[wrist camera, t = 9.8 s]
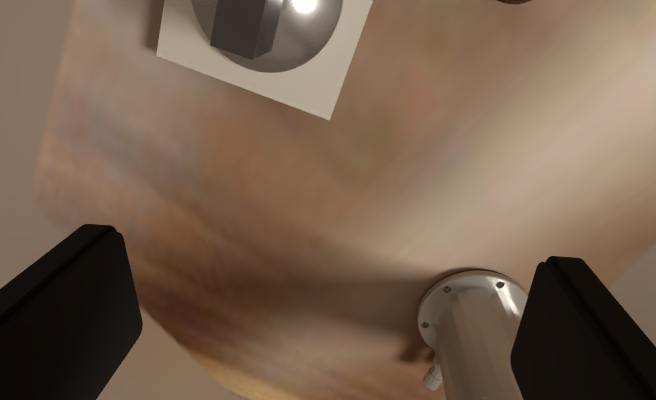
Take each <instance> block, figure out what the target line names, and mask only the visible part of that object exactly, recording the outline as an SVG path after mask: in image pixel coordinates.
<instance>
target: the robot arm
mask: <svg viewBox="0 0 656 400" xmlns="http://www.w3.org/2000/svg"><path fill="white" fill-rule="evenodd" d="M417 322H418V327H419V332H420V334H421V336H422V338H423V340H424V341H425V342H426V344H427V345H428V346H429V347H431V348H432V349H433V350H434V353H435V357H434V358H433V366H432V367H430V369H429V370H428V372H427V373H426V375H425V376H424V378H423V383H424V384H425V386H426V387H427V388H428V389H430V390H437V389H438V387H439V386H440V384H441V383H442V382H443V384H444V389H445V394H446V400H656V347H655V346H654V344H653V343H652V342H651V341H650V340H649V339H648V337H647V336H646V335H645V334H644V333H643V331H642V330H641V329H640V328H639V326H638V325H637V324H636V323H635V322H634V320H633V319H632V318H631V317H630V316H629V315H628V313H627V312H626V311H625V310H624V308H623V307H622V306H621V305H620V304H619V303H618V301H617V300H616V299H615V298H614V297H613V295H612V294H611V293H610V292H609V291H608V289H607V288H606V287H605V286H604V285H603V283H602V282H601V281H600V280H599V279H598V277H597V276H596V275H595V274H594V273H593V271H592V270H591V269H590V268H589V267H588V265H587V264H586V263H585V262H584V261H583V260H582V259H580V258H572V257H558V256H551V257H549V258H548V259H547V260H546V262H541V263H539V264H538V266H537V268H536V272H535V275H534V278H533V282H532V285H531V288H530V292H529V295H527V294H526V292H525V290H524V289H523V288H522V287H521V286H520V285H519V284H518V283H517V282H515V281H514V280H512V279H511V278H509V277H507V276H504V275H502V274H499V273H495V272H490V271H479V270H475V271H465V272H461V273H457V274H454V275H451V276H449V277H446V278H444V279H442V280H441V281H439V282H438V283H436V284H435V285H434V286H432V287H431V288H430V289H429V290H428V291H427V292H426V294H425V295H424V296H423V298H422V300H421V302H420V304H419V307H418V312H417ZM141 331H142V317H141V313H140V309H139V304H138V300H137V295H136V291H135V287H134V282H133V278H132V273H131V269H130V265H129V260H128V256H127V251H126V247H125V242H124V238H123V236H122V234H121V233H119V232H117V231H116V229H115V228H114V227H113V226H110V225H96V224H85V225H83V226H81V227H80V228H78V229H77V230H76V231H75V232H73V233H72V234H71V235H69V236H68V237H67V238H66V239H64V240H63V241H62V242H60V243H59V244H58V245H56V246H55V247H54V248H53V249H51V250H50V251H49V252H48V253H46V254H45V255H44V256H42V257H41V258H40V259H38V260H37V261H36V262H35V263H33V264H32V265H31V266H29V267H28V268H27V269H26V270H24V271H23V272H22V273H20V274H19V275H18V276H17V277H15V278H14V279H13V280H11V281H10V282H9V283H7V284H6V285H5V286H4V287H2V288H1V289H0V400H96V399H97V398H98V396H99V395H100V393H101V392H102V390H103V389H104V387H105V386H106V384H107V383H108V381H109V380H110V379H111V377H112V376H113V374H114V373H115V371H116V370H117V368H118V367H119V365H120V364H121V362H122V361H123V360H124V358H125V357H126V355H127V354H128V352H129V351H130V349H131V348H132V347H133V345H134V344H135V342H136V341H137V339H138V338H139V336H140V334H141Z"/></svg>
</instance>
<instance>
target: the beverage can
mask: <svg viewBox="0 0 656 400" xmlns="http://www.w3.org/2000/svg"><path fill="white" fill-rule="evenodd" d="M498 1H501V2H503V3H508V4H521V3H525V2H528V1H531V0H498Z"/></svg>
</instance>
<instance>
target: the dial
mask: <svg viewBox="0 0 656 400" xmlns="http://www.w3.org/2000/svg"><path fill="white" fill-rule="evenodd" d="M191 2H192V6H193V10H194V13H195V15H196V18H197V20H198V22H199V24H200V26H201V28H202V30H203V32H204V33H205V35H206V36H207V38H208V39H209V40H210V46H213V47H215V48H216V49H218V50H219V51H220V52H221V53H222V54H223V55H224V56H225V57H227V58H228V59H229V60H231V61H233V62H234V63H236V64H238V65H240V66H242V67H244V68H247V69H250V70H254V71H257V72H265V73H278V72H284V71H288V70H292V69H295V68H297V67H299V66H301V65H303V64H305V63H306V62H308V61H310V60H311V59H312V58H313V57H315V56H316V55H317V54H318V53H319V52H320V51H321V50H322V49H323V48H324V47H325V45H326V44H327V43H328V41H329V40H330V38H331V37H332V35H333V33H334V31H335V29H336V27H337V24H338V22H339V19H340V16H341V11H342V7H343V0H191Z"/></svg>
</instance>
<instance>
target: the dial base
mask: <svg viewBox="0 0 656 400" xmlns="http://www.w3.org/2000/svg"><path fill="white" fill-rule="evenodd" d="M372 2H373V0H343V7H342V11H341V16H340V19H339V22H338V24H337V27H336V29H335V31H334V33H333V35H332V37H331V38H330V40H329V41H328V43H327V44H326V45H325V47H324V48H323V49H322V50H321V51H320V52H319V53H318V54H317V55H316V56H315V57H313V58H312V59H311V60H310V61H308V62H306V63H305V64H303V65H301V66H299V67H297V68H295V69H292V70H288V71H284V72H278V73H265V72H257V71H254V70H250V69H247V68H244V67H242V66H240V65H238V64H236V63H234V62H233V61H231V60H229V59H228V58H227V57H225V56H224V55H223V54H222V53H221V52H220V51H219V50H218V49H216V48H215V47H213V46H210V40H209V39H208V38H207V36H206V35H205V33H204V32H203V30H202V28H201V26H200V24H199V22H198V20H197V18H196V15H195V13H194V10H193V6H192V2H191V0H164V7H163V14H162V21H161V27H160V34H159V41H158V48H157V54H156V56H158V57H161V58H164V59H166V60H169V61H172V62H174V63H177V64H180V65H182V66H185V67H188V68H191V69H193V70H196V71H199V72H201V73H204V74H207V75H209V76H212V77H215V78H217V79H220V80H223V81H225V82H228V83H231V84H233V85H236V86H239V87H241V88H244V89H247V90H250V91H252V92H255V93H258V94H260V95H263V96H266V97H268V98H271V99H274V100H276V101H279V102H282V103H284V104H287V105H290V106H292V107H295V108H298V109H300V110H303V111H306V112H309V113H311V114H314V115H317V116H319V117H322V118H325V119H327V120H330V118H331V115H332V112H333V109H334V107H335V104H336V101H337V98H338V96H339V93H340V90H341V87H342V85H343V82H344V79H345V76H346V74H347V71H348V68H349V65H350V63H351V60H352V57H353V54H354V51H355V49H356V46H357V43H358V40H359V38H360V35H361V32H362V29H363V27H364V24H365V21H366V18H367V16H368V13H369V10H370V7H371V5H372Z"/></svg>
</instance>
